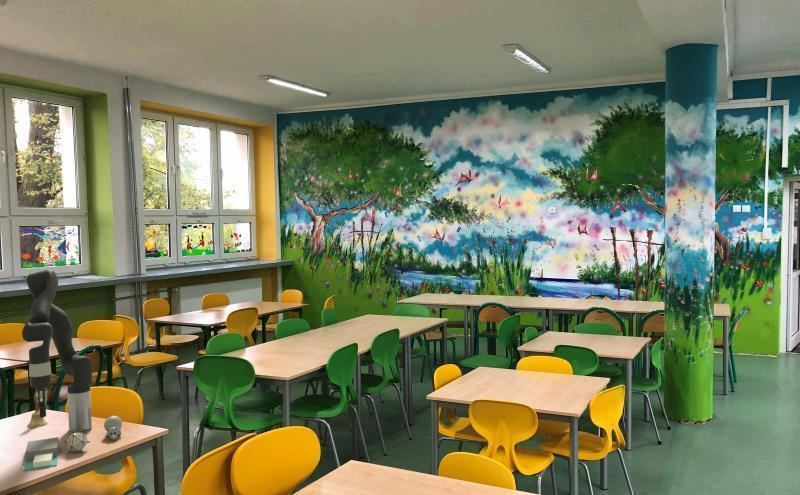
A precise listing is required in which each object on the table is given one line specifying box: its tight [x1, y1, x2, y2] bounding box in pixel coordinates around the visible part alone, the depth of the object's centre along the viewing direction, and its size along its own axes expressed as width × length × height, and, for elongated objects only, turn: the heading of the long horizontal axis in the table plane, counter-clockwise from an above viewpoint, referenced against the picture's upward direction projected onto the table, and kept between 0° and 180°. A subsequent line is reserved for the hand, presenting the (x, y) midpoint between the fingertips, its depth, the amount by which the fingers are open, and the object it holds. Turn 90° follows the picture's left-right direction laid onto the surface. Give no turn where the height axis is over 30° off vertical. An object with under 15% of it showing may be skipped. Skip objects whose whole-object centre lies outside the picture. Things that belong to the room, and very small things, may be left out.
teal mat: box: [23, 457, 58, 472], centre depth 253 cm, size 11×10×1 cm
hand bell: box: [27, 390, 49, 428], centre depth 303 cm, size 8×8×16 cm
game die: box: [63, 430, 91, 454], centre depth 266 cm, size 9×8×10 cm
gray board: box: [24, 436, 60, 462], centre depth 264 cm, size 11×14×4 cm
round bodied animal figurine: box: [103, 415, 123, 441], centre depth 284 cm, size 7×12×8 cm, turn 21°
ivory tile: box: [33, 452, 53, 468], centre depth 254 cm, size 6×9×2 cm, turn 24°
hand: (43, 416), depth 259 cm, fingers closed
